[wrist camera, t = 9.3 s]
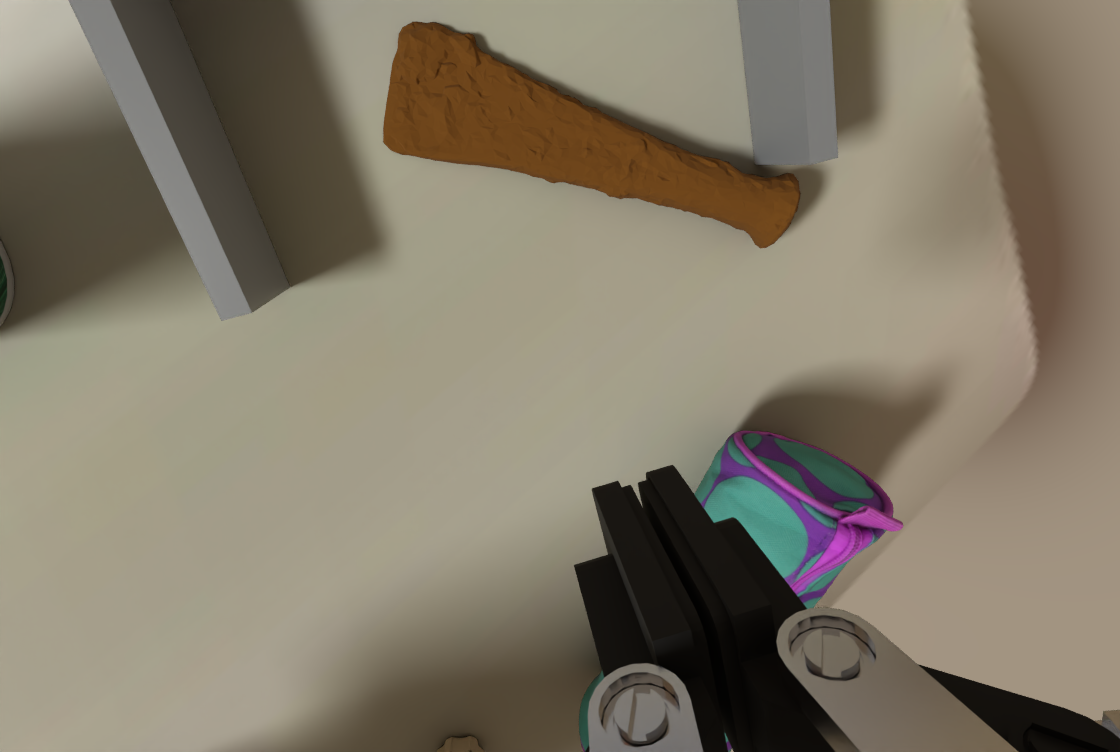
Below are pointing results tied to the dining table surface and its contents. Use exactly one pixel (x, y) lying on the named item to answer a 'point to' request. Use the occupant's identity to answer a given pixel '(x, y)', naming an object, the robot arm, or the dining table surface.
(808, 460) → the pencil case
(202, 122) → the box
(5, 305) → the canned tomato
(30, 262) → the dining table surface
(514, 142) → the primitive tool
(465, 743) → the handle
